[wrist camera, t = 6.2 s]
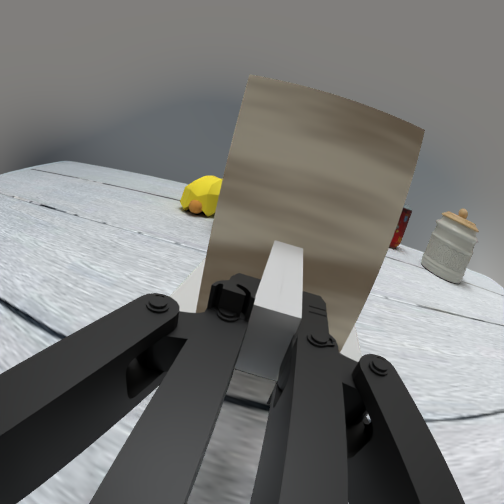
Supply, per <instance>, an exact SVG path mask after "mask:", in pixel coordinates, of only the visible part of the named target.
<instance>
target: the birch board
mask: <svg viewBox="0 0 504 504" xmlns="http://www.w3.org/2000/svg"><path fill="white" fill-rule="evenodd" d="M424 131H425V130H424V129H421V128H420V127H417V126H415V125H413V124H411V123H409V122H406V121H404V120H402V119H400V118H397V117H395V116H392V115H390V114H388V113H385V112H383V111H380V110H377V109H375V108H372V107H369V106H366V105H364V104H361V103H358V102H355V101H352V100H350V99H346V98H343V97H340V96H337V95H334V94H331V93H327V92H324V91H320V90H317V89H313V88H310V87H305V86H302V85H298V84H294V83H289V82H285V81H281V80H276V79H271V78H266V77H261V76H255V75H249V79H248V82H247V86H246V89H245V93H244V97H243V100H242V104H241V108H240V111H239V115H238V119H237V124H236V127H235V131H234V135H233V139H232V143H231V147H230V151H229V155H228V159H227V163H226V167H225V172H224V176H223V180H222V185H221V189H220V193H219V198H218V202H217V207H216V211H215V216H214V221H213V225H212V230H211V235H210V240H209V245H208V250H207V255H206V260H205V265H204V270H203V275H202V280H201V286H200V291H199V297H198V302H197V308H196V313H201V312H205V310H206V309H207V305H208V300H209V295H210V290H211V285H212V284H213V283H215V282H216V281H220V280H229V279H230V278H231V276H233V275H235V274H237V273H241V274H244V275H248V276H251V277H254V278H258V279H262V276H263V273H264V270H265V267H266V264H267V261H268V258H269V256H270V253H271V250H272V247H273V244H274V241H275V240H276V241H280V242H283V243H286V244H290V245H293V246H296V247H300V248H303V291H305V292H308V293H312V294H315V295H319V296H321V297H322V299H323V300H324V302H325V303H326V309H327V311H326V312H327V318H328V328H329V334H330V335H331V336H332V337H333V338H334V339H335V340H336V342H337V344H338V350H339V352H341V350H342V348H343V346H344V344H345V342H346V340H347V338H348V337H349V335H350V333H351V331H352V329H353V327H354V325H355V323H356V321H357V319H358V317H359V315H360V313H361V310H362V308H363V306H364V304H365V302H366V300H367V298H368V295H369V293H370V291H371V289H372V287H373V284H374V282H375V280H376V277H377V275H378V273H379V270H380V268H381V266H382V263H383V261H384V258H385V256H386V253H387V251H388V248H389V245H390V243H391V240H392V238H393V235H394V232H395V229H396V227H397V224H398V221H399V218H400V215H401V212H402V209H403V206H404V203H405V200H406V197H407V194H408V191H409V188H410V184H411V181H412V177H413V174H414V171H415V167H416V163H417V160H418V156H419V152H420V148H421V144H422V140H423V135H424Z"/></svg>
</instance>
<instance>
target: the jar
mask: <svg viewBox="0 0 504 504" xmlns="http://www.w3.org/2000/svg"><path fill="white" fill-rule="evenodd" d="M442 215H443V217H442V218H441V219H439V220H436V223H437V226H436V228H435V230H434V232H432V235H431V238H430V241H429V243H428V246H427V248H426V251H425V253H424V254H423V256H422V261H421V263H422V265H423V266H424V267H425V268H426V269H428V270H429V271H430V272H432V273H433V274H435V275H437V276H439V277H441V278H443V279H445V280H447V281H450V282H452V283H460V281H461V280H462V279H463V276H464V273H465V271H466V268H467V266H468V264H469V261H470V259H471V257H472V255H473V248H474V245H475V244H476V243H477V242H478V240H477V238H476V232H479V231H478V229H477V228H476V225H475V224H474V223H472V222H470V221H468V220H466V218H467V216H468V212H467V210H465V209H460V211H459V216H458V215H456V214H454V213H451V212H449V211H448V212H445V213H442Z"/></svg>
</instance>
